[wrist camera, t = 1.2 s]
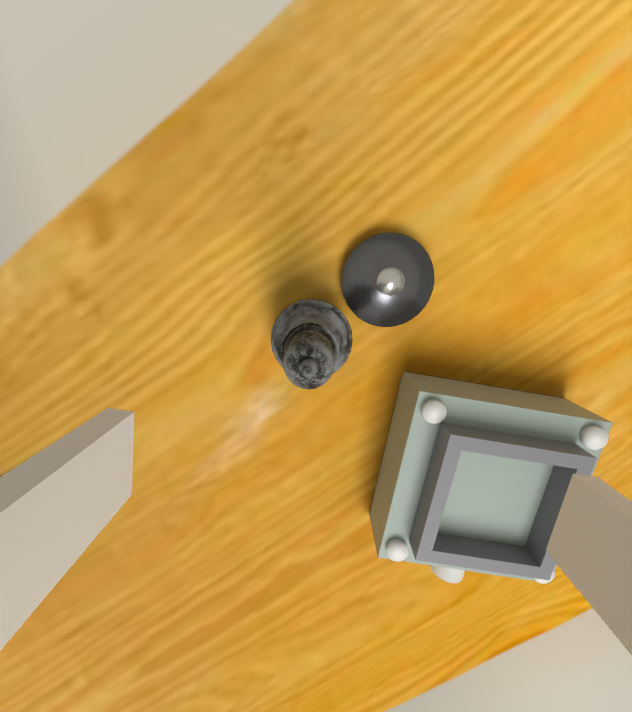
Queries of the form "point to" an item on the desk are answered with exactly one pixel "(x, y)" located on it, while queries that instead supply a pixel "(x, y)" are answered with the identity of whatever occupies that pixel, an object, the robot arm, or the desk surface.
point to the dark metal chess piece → (311, 342)
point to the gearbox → (479, 476)
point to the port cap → (387, 279)
